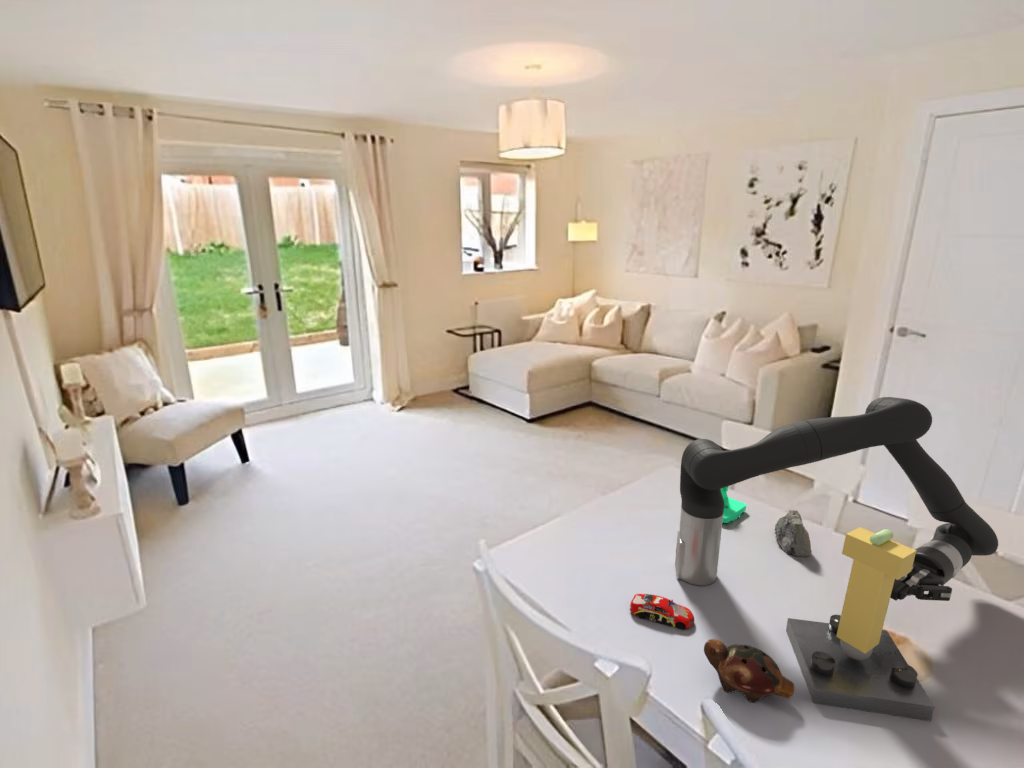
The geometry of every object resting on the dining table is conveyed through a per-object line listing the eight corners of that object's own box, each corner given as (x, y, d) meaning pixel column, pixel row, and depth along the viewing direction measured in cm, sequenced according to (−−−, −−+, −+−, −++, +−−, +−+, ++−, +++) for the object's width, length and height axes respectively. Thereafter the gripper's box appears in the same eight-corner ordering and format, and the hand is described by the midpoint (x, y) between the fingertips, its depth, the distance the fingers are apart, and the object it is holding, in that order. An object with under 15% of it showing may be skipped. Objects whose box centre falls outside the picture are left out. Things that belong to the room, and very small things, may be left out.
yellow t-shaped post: (873, 677, 95) (905, 548, 89) (821, 646, 102) (848, 524, 96) (886, 667, 98) (918, 540, 91) (835, 636, 105) (862, 518, 99)
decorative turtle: (700, 657, 105) (707, 622, 103) (786, 685, 99) (795, 648, 97) (696, 693, 96) (704, 656, 94) (791, 727, 90) (801, 687, 88)
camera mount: (725, 527, 150) (729, 493, 147) (700, 516, 155) (703, 484, 152) (746, 512, 157) (750, 480, 154) (722, 503, 163) (725, 471, 160)
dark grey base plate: (813, 702, 94) (817, 679, 93) (785, 629, 112) (788, 608, 110) (930, 721, 91) (937, 697, 89) (883, 642, 108) (888, 621, 106)
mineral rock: (778, 526, 150) (783, 493, 147) (821, 540, 143) (827, 506, 140) (762, 545, 141) (766, 511, 138) (807, 562, 134) (813, 526, 131)
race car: (695, 618, 115) (697, 602, 114) (692, 634, 111) (693, 618, 110) (633, 600, 121) (634, 585, 120) (627, 616, 116) (628, 600, 115)
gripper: (900, 533, 116) (858, 560, 107) (976, 563, 106) (937, 596, 97) (894, 563, 118) (852, 592, 110) (968, 596, 108) (928, 631, 99)
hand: (892, 594), depth 103 cm, fingers closed
